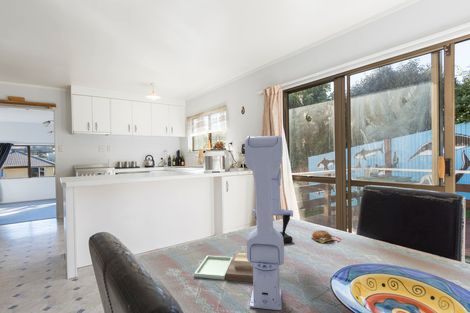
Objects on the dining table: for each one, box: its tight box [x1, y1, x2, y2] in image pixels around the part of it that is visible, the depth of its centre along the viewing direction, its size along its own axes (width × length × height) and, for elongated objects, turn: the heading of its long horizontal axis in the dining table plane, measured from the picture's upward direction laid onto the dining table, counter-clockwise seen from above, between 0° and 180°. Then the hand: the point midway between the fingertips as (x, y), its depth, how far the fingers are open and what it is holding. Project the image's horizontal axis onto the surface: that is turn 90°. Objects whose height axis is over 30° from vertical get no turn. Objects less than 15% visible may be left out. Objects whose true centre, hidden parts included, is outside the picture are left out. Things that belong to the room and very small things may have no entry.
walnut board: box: [225, 254, 253, 283], centre depth 81 cm, size 14×9×2 cm, turn 169°
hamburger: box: [311, 229, 343, 244], centre depth 108 cm, size 14×14×6 cm
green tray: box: [193, 255, 234, 280], centre depth 83 cm, size 14×10×1 cm
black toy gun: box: [279, 231, 294, 244], centre depth 111 cm, size 3×20×16 cm
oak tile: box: [234, 252, 253, 269], centre depth 81 cm, size 6×6×2 cm
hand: (272, 235), depth 88 cm, fingers open, 7 cm apart
